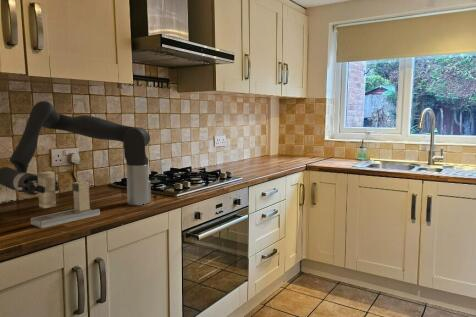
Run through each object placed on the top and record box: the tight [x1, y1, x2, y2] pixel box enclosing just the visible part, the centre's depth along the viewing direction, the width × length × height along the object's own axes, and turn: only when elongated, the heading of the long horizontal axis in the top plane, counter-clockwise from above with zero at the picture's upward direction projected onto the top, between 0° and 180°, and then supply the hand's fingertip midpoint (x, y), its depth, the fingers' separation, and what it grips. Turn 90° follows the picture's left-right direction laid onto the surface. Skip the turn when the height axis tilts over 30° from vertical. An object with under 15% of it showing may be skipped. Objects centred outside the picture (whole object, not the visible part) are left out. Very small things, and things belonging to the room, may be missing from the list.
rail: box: [30, 180, 101, 229], centre depth 136 cm, size 22×8×13 cm, turn 143°
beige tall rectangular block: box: [37, 171, 57, 209], centre depth 131 cm, size 4×4×12 cm
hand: (50, 189), depth 129 cm, fingers closed on beige tall rectangular block, 4 cm apart
